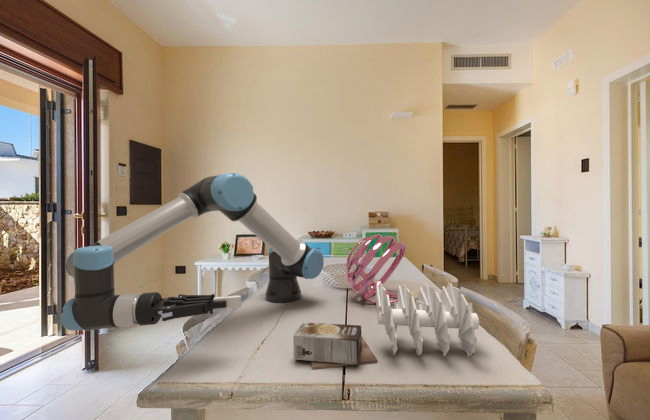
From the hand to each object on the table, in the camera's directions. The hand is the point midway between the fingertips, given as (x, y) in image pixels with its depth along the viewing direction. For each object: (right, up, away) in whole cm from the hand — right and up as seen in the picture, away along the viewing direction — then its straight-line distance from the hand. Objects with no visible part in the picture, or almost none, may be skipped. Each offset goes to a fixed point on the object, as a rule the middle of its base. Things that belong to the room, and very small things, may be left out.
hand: (240, 301), depth 77 cm
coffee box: (+14, -10, +1) cm, 18 cm away
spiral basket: (+43, -14, +48) cm, 65 cm away
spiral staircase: (+48, -14, +2) cm, 50 cm away
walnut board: (+25, -14, +4) cm, 29 cm away
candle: (+50, -14, +22) cm, 56 cm away
